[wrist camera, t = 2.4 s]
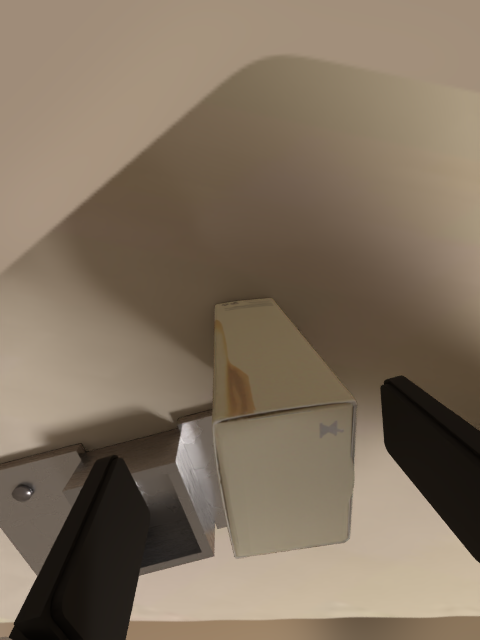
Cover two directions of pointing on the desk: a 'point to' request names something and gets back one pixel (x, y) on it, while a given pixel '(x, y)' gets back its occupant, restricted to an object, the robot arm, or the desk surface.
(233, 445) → the skincare box
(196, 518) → the hinge base
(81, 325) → the desk surface
